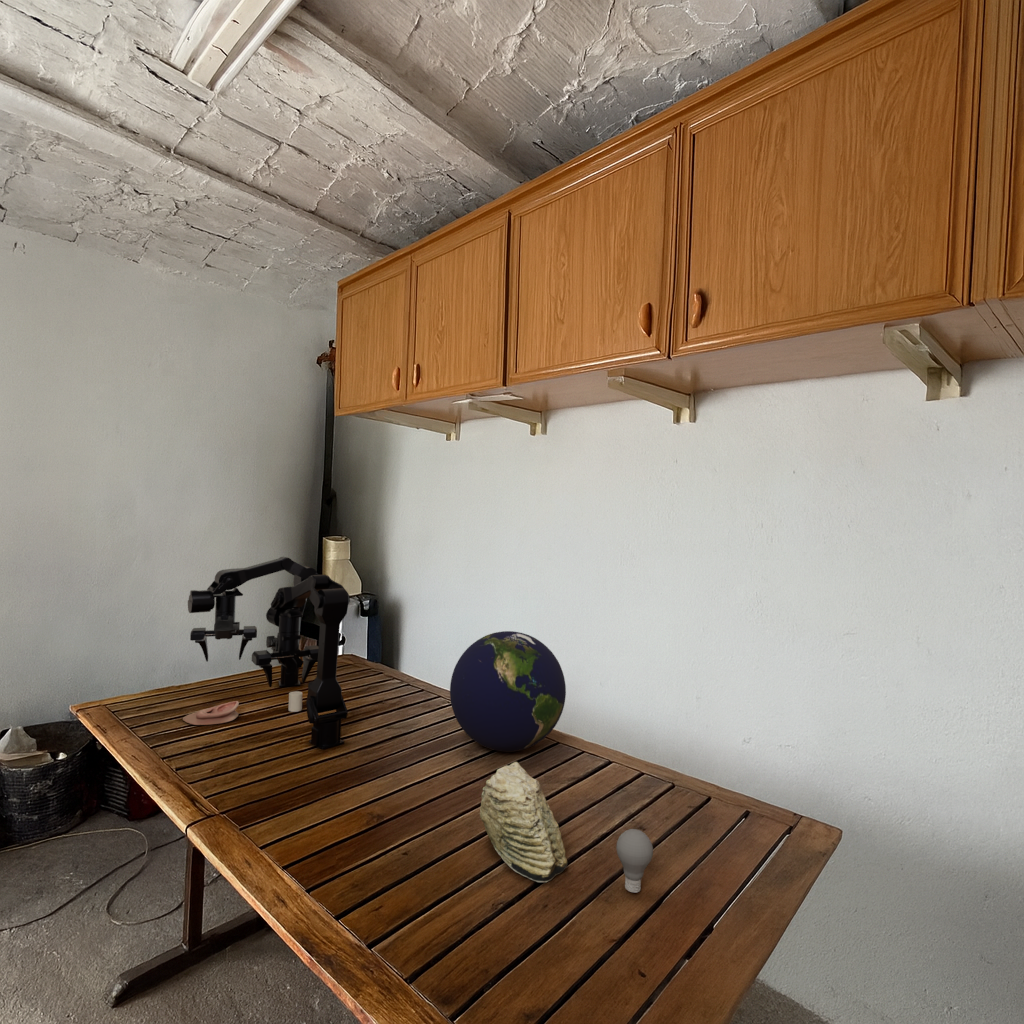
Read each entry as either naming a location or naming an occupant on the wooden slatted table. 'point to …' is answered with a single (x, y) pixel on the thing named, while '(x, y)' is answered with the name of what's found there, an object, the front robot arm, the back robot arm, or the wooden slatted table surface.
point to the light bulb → (634, 857)
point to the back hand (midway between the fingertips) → (223, 660)
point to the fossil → (522, 824)
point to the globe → (507, 691)
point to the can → (295, 701)
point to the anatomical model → (214, 714)
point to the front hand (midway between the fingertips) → (286, 684)
